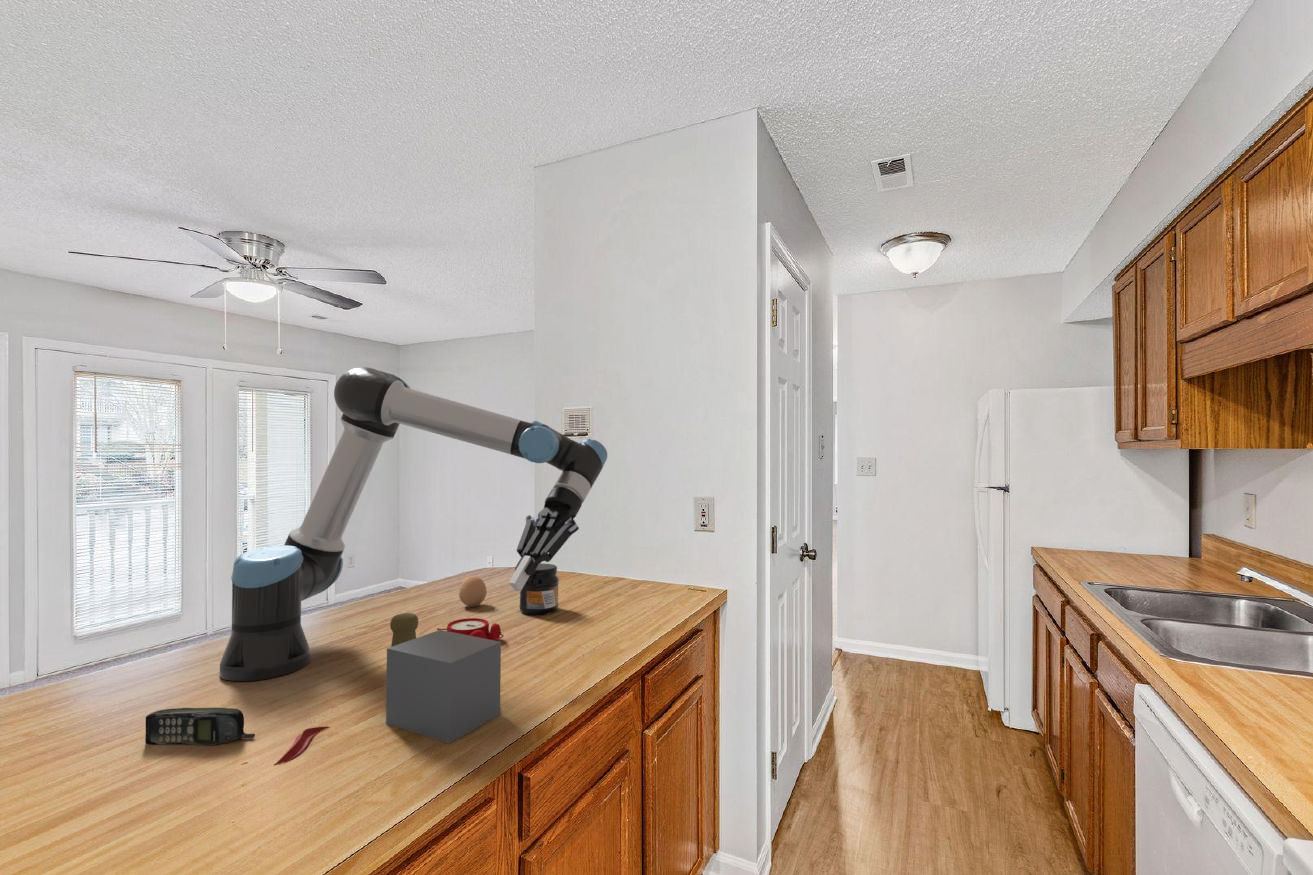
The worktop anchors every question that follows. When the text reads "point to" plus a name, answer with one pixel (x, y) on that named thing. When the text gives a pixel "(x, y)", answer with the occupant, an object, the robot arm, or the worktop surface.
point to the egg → (472, 591)
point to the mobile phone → (195, 726)
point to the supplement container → (540, 591)
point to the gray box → (443, 684)
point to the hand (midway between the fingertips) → (514, 586)
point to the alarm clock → (475, 628)
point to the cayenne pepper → (300, 744)
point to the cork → (403, 628)
